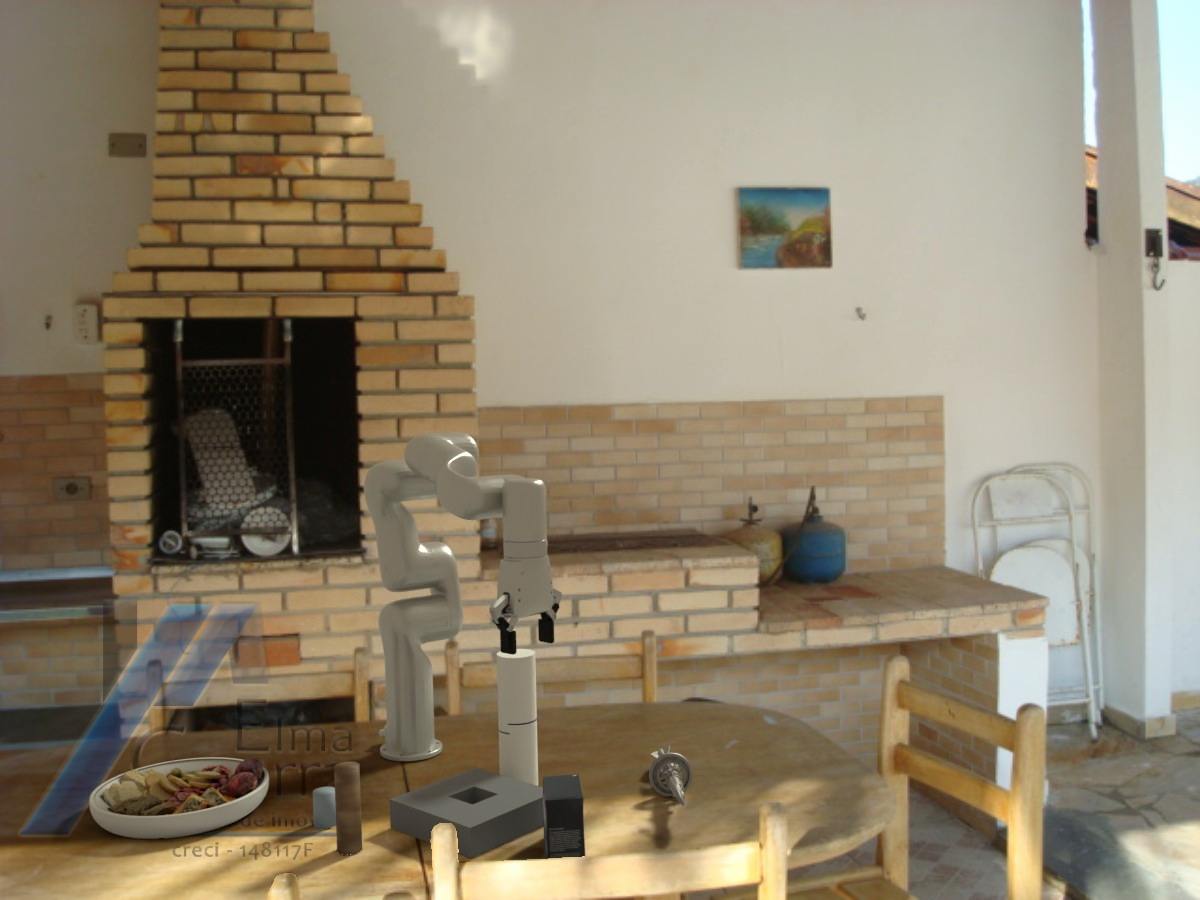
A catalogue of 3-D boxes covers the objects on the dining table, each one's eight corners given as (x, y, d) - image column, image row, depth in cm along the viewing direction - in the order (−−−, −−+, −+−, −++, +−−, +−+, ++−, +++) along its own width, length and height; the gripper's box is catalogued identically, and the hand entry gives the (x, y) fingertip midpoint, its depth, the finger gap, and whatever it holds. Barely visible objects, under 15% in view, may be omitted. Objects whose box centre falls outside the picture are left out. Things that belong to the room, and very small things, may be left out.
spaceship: (650, 788, 187) (694, 768, 188) (635, 743, 222) (672, 726, 223) (670, 832, 187) (713, 813, 187) (651, 780, 222) (688, 763, 222)
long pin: (332, 851, 184) (329, 766, 183) (352, 843, 187) (349, 759, 186) (347, 857, 181) (344, 771, 180) (367, 849, 184) (364, 764, 183)
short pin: (309, 825, 195) (307, 791, 194) (328, 818, 198) (327, 785, 197) (323, 831, 192) (321, 796, 192) (342, 824, 195) (341, 790, 195)
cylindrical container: (532, 793, 208) (529, 658, 206) (495, 791, 209) (491, 657, 208) (542, 779, 215) (539, 649, 213) (506, 777, 216) (502, 648, 215)
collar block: (390, 828, 193) (389, 799, 193) (476, 793, 208) (476, 767, 208) (471, 858, 180) (470, 827, 180) (556, 819, 195) (556, 791, 195)
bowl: (96, 861, 183) (94, 813, 182) (85, 801, 209) (83, 759, 209) (285, 824, 196) (284, 779, 196) (252, 772, 223) (251, 733, 222)
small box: (542, 836, 188) (541, 774, 187) (581, 834, 189) (580, 772, 188) (545, 863, 178) (543, 798, 177) (586, 861, 178) (585, 796, 178)
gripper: (542, 542, 205) (544, 635, 206) (474, 554, 192) (477, 654, 193) (574, 545, 200) (576, 640, 202) (506, 558, 187) (509, 660, 188)
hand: (527, 647), depth 197 cm, fingers open, 9 cm apart
